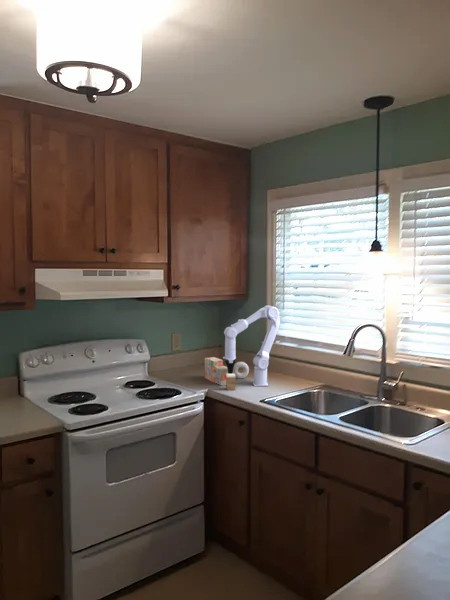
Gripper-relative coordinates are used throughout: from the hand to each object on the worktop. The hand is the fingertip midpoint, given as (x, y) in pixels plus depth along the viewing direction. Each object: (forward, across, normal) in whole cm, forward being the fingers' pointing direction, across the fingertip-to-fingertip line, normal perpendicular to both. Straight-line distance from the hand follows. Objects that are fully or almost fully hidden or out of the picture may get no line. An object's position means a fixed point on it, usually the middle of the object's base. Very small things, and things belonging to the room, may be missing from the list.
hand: (230, 373), depth 278 cm
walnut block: (+7, +7, 0) cm, 10 cm away
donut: (+7, -18, +7) cm, 21 cm away
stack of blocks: (+7, -12, -7) cm, 16 cm away
